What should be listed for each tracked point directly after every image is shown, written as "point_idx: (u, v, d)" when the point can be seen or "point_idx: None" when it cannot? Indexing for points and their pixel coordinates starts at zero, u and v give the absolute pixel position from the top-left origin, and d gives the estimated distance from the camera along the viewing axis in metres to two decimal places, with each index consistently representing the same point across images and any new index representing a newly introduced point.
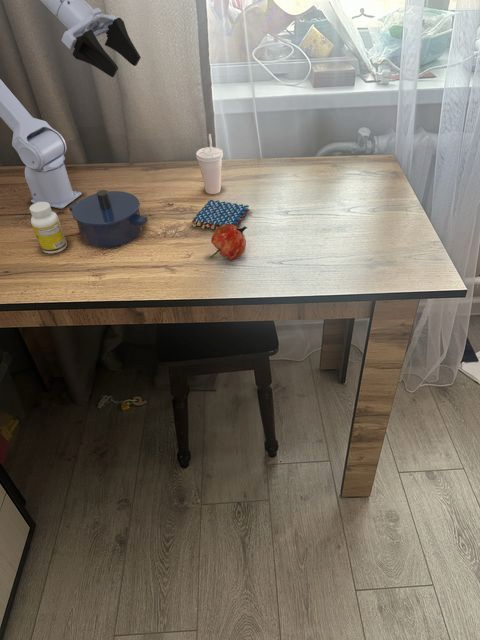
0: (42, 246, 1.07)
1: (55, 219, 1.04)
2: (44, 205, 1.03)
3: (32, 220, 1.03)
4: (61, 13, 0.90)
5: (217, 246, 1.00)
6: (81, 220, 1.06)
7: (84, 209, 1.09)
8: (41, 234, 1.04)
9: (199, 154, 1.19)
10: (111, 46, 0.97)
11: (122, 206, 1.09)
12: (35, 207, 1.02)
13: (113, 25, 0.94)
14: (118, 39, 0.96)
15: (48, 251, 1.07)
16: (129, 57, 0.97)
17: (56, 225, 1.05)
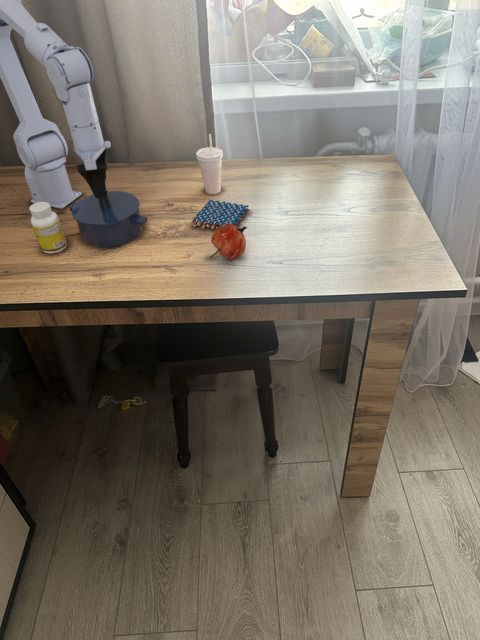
0: (42, 246, 1.07)
1: (55, 219, 1.04)
2: (44, 205, 1.03)
3: (32, 220, 1.03)
4: (83, 131, 0.95)
5: (217, 246, 1.00)
6: (81, 220, 1.06)
7: (84, 209, 1.09)
8: (41, 234, 1.04)
9: (199, 154, 1.19)
10: None
11: (122, 206, 1.09)
12: (35, 207, 1.02)
13: None
14: (97, 158, 1.06)
15: (48, 251, 1.07)
16: None
17: (56, 225, 1.05)
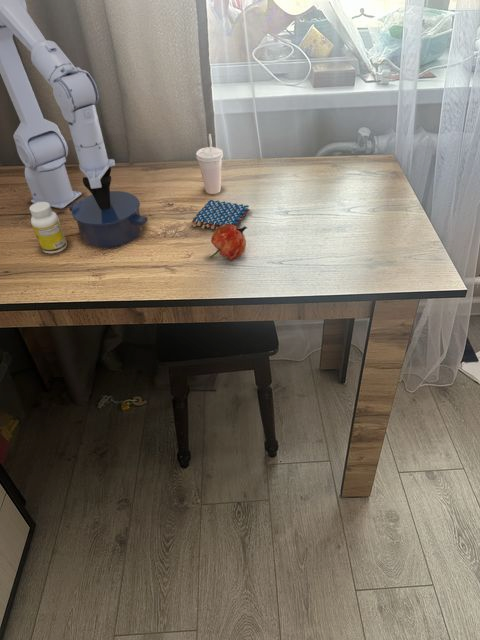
0: (42, 246, 1.07)
1: (55, 219, 1.04)
2: (44, 205, 1.03)
3: (32, 220, 1.03)
4: (88, 150, 0.98)
5: (217, 246, 1.00)
6: (81, 220, 1.06)
7: (84, 209, 1.09)
8: (41, 234, 1.04)
9: (199, 154, 1.19)
10: None
11: (122, 206, 1.09)
12: (35, 207, 1.02)
13: (105, 170, 1.06)
14: None
15: (48, 251, 1.07)
16: None
17: (56, 225, 1.05)
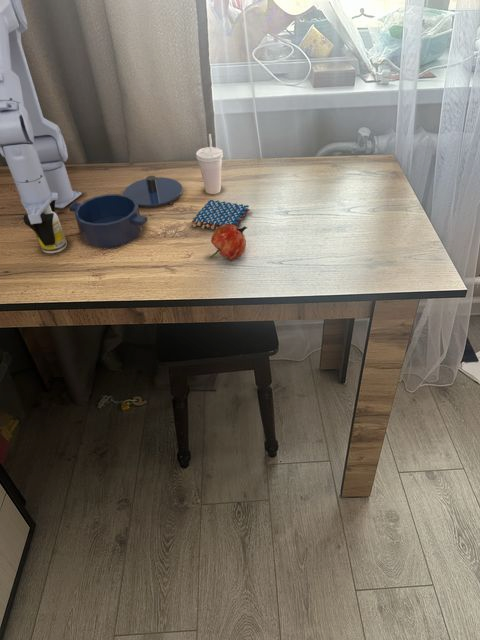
0: (42, 246, 1.07)
1: (55, 218, 1.04)
2: None
3: None
4: (27, 185, 0.97)
5: (217, 246, 1.00)
6: None
7: (134, 192, 1.24)
8: None
9: (199, 154, 1.19)
10: None
11: (167, 190, 1.25)
12: None
13: None
14: None
15: (48, 251, 1.07)
16: None
17: (56, 225, 1.05)
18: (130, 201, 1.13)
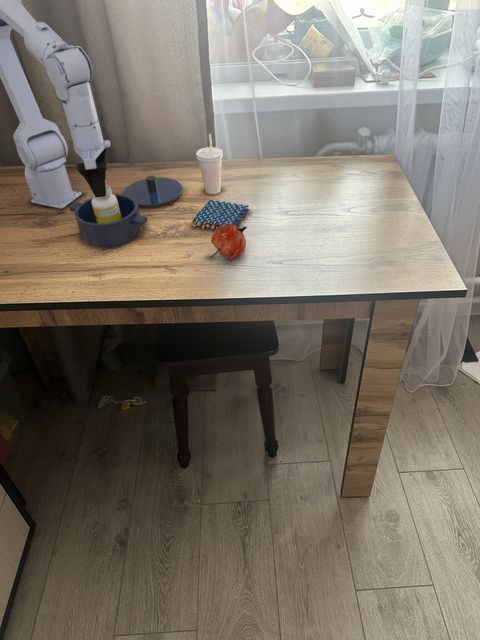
0: None
1: (114, 200, 1.08)
2: None
3: (93, 201, 1.07)
4: (83, 130, 0.95)
5: (217, 246, 1.00)
6: None
7: (134, 192, 1.24)
8: (101, 215, 1.08)
9: (199, 154, 1.19)
10: None
11: (167, 190, 1.25)
12: None
13: None
14: (96, 157, 1.06)
15: None
16: None
17: (115, 207, 1.09)
18: (130, 201, 1.13)
